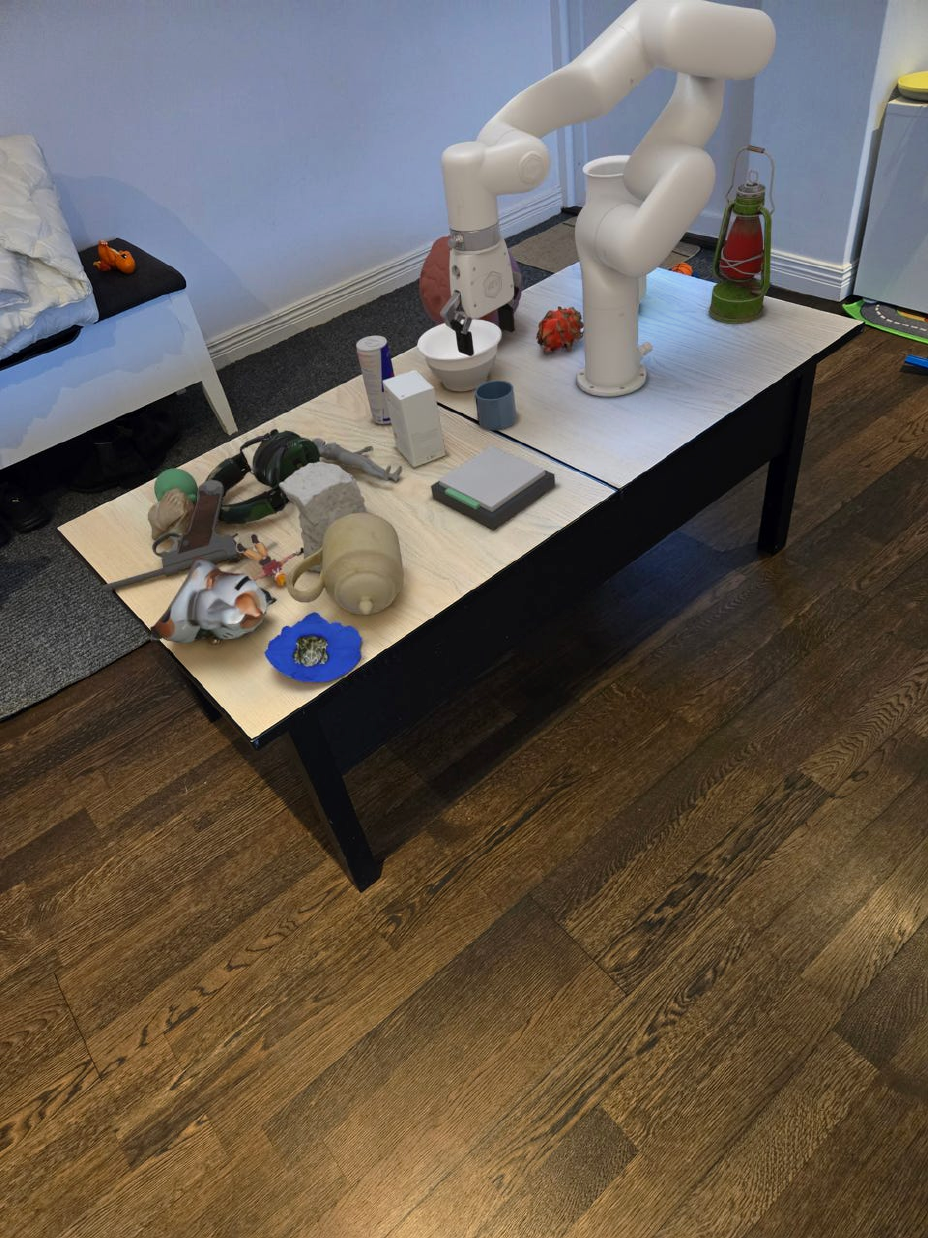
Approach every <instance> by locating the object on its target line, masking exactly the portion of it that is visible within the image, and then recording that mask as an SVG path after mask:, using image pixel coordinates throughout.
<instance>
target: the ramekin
mask: <svg viewBox="0 0 928 1238" xmlns="http://www.w3.org/2000/svg"><path fill="white" fill-rule="evenodd" d="M474 400H475V408H476V415H477V421H478V425H479V427H481V428H482V429H484V430H487V431H503V430H506V429H507V428H511V427H512V426H513V425H515V423H516V421H517V410H516V407H517V406H516V399H515V389H514V385H513V384H512V383H511V382H509V381H506V380H497V379H496V380H489V381H486V382H485V383H483V384H481V385H480V386H478V387H477V388H475V389H474Z"/></svg>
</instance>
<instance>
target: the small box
mask: <svg viewBox="0 0 928 1238" xmlns="http://www.w3.org/2000/svg"><path fill="white" fill-rule="evenodd" d="M383 387H384V392H385V396H386V401H387V406H388V410H389V415H390V420H391V423H390V424H391V428H392V433H393V437H394V438H393V439H394V443H395V448H396V449H397V450H398V452H400V453H401V455H402V456H403V457H404V458H405V460H406V461H408V463H409V464H410V465H411V466H412V467H413V468H417V467H419V466H422V465H425V464H427V463H430V462H432V461H435V460H437V459H440V458H442V457H445V456H446V455H447V453H446V452H447V451H446V446H445V440H444V435H443V430H442V424H441V419H440V412H439V407H438V402H437V396H436V395H437V394H436V389H435V387H434V386H433V385H432V384H431V383H430V382H429V381H428V380H427V379H426V378H425V377H424V376H423V375H421V373H420V372H418V370H416V369H412V370H410V371H407V372H403V373H402V374H399V375H395V377H392V378H390V379H387V380H384V381H383Z"/></svg>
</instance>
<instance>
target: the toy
mask: <svg viewBox="0 0 928 1238" xmlns="http://www.w3.org/2000/svg"><path fill="white" fill-rule="evenodd" d="M362 641H363V637H362V636H360V632H359V631H358V629H356V627H354V626H352V625H346V626H345V625H343V624H342V623H341V622H338V621H334V622H329V621H328V620H327V619H325V618H323V616H321V615H320V613H319V612H316V611H313V612H311V613H308V614H307V615H305V616H304V617H303V618H302V620H298V621H297V622H296V623H294V624H293V625H292V626H289V625H284V626H282V628H281V631H280V634H277V635H276V636H275V637H274V638H272V639H271V640H269V642H268V644H267V649H265V650H264V651H263V652H264V656H265V658H266V659H267V661H268V662H269V663H270V665H271V666H272V667H273V668H274V669H275V670H276V671H278V672H279V673H281V674H282V675H283V676H284V675H285V676H287V677H289V678H291V679H292V680H295V681H299V682H310V683H325V682H329V681H332V680H333V681H334V680H335V679H338V678H340V677H343V676H344V675H346V674H347V673H349V672H350V671H351V670H353V669H354V668H355V666H356V665H357V664H358V663H359V661H360V659H361V657H362V652H361V649H360V648H361V647H360V646H361V644H362Z"/></svg>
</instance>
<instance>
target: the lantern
mask: <svg viewBox="0 0 928 1238" xmlns="http://www.w3.org/2000/svg"><path fill="white" fill-rule="evenodd" d="M745 150H747V151H750V152H753V153H759V154H765V155H766V156H767V157H768V158H769V161H770V163H771V164H770V165H771V176H770V185H769V187H770V188H769V197H768V198H769V200H770V204H771V208H772V210H771V211H770V210H769V209H768V208H767V207H766V206H765V202H766V201H765V200H766V189H767V186H766V185H764V184H763V183H759V182H758V179H759V173H758V171H755V170H752V169H751V170H750V171H748V176H747V178H748V181H749V182H747V183H743V184H739V185H738V186H737V188H736V194H735V198H731V199H730V200H729V198H728V195H729V193H730V192H731V190H732V188H733V187H734V181H735V173H736V168H737V162H738V158H739V156H740V154H741V152H742V151H745ZM751 173H754V174H756V178H755V179H756V180H753V181H752V179H751V178H750V177H751ZM774 174H775V162H774V159H773V157H772V155H771V154H770V153H769V152H768V151H767V150H766V148H763V147H759V146H755V145H751V144H748V145H747V146H743V147H742V148H740V149H739V150H738V151H737V153H736V154H735V157H734V163H733V169H732V175H731V182H730V186H729V188H728V189H727V191H726V193H725V195H724V198H725V200H726V205H725V208H724V212H723V217H722V221H721V225H720V231H719V235H718V240H717V244H716V247H715V253H714V257H713V261H712V272H713V277H715V278H716V279H717V280H718V282H717V283H716V284H715V285H714V286H713V287H712V291H711V299H710V306H709V308H708V314H709V315H710V317H711V318H712V319H715V320H716V321H719V322H722V323H726V324H745V323H751V322H753V321H755V320H758V319H759V318H761V317H762V316H763V315H764V311H765V306H764V301H765V300H764V299H765V295H766V294H767V292H768V290H769V288H770V286H771V274H772V272H771V262H772V261H771V260H772V259H771V258H772V226H773V225H772V222H773V218H772V214H773V213H774V212H775V210H776V208H775V207H776V206H775V204H774V200H773V185H774V178H775V177H774V176H775V175H774ZM732 214H733V215H735V219H734V220H733V223H732V225H731V227H730V230H729V232H728V229H729V225H730V220H731V216H732ZM760 216H763V221H764V224H763V225H764V226H763V228H764V229H762V223H761V218H760ZM727 234H728V235H727ZM721 272H722V273H721ZM758 275H760V282H759V281H757V278H756V277H755V276H758Z"/></svg>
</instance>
